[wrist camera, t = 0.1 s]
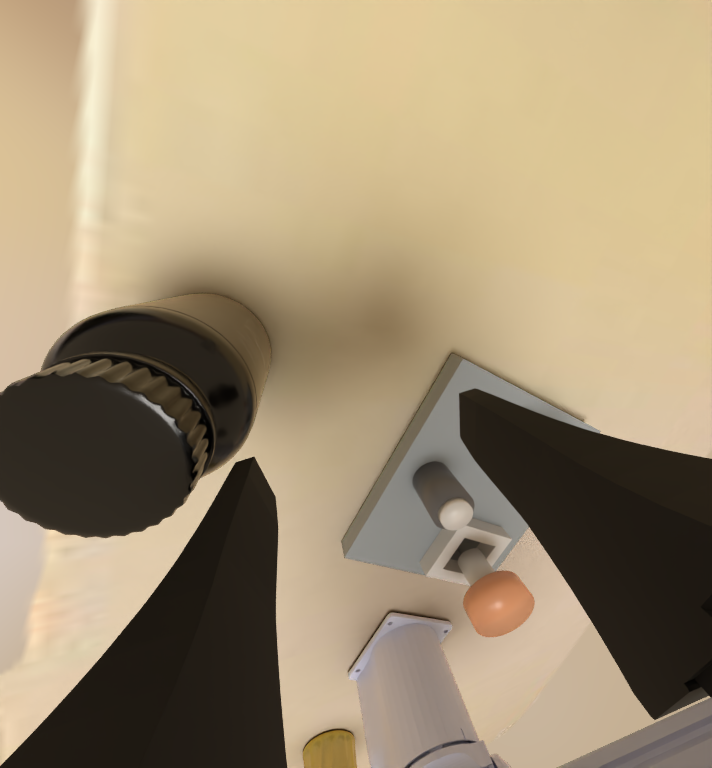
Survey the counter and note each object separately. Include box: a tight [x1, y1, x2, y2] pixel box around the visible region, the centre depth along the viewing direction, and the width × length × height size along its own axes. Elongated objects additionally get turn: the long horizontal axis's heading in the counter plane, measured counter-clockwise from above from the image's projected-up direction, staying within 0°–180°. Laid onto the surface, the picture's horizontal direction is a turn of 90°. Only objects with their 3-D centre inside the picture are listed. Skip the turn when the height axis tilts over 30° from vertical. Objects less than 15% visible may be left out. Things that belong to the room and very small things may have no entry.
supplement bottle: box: [0, 293, 271, 538], centre depth 13 cm, size 7×7×12 cm
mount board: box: [341, 353, 601, 586], centre depth 24 cm, size 18×15×3 cm
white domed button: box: [412, 461, 475, 530], centre depth 21 cm, size 3×3×4 cm
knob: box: [458, 548, 534, 637], centre depth 23 cm, size 5×5×4 cm
